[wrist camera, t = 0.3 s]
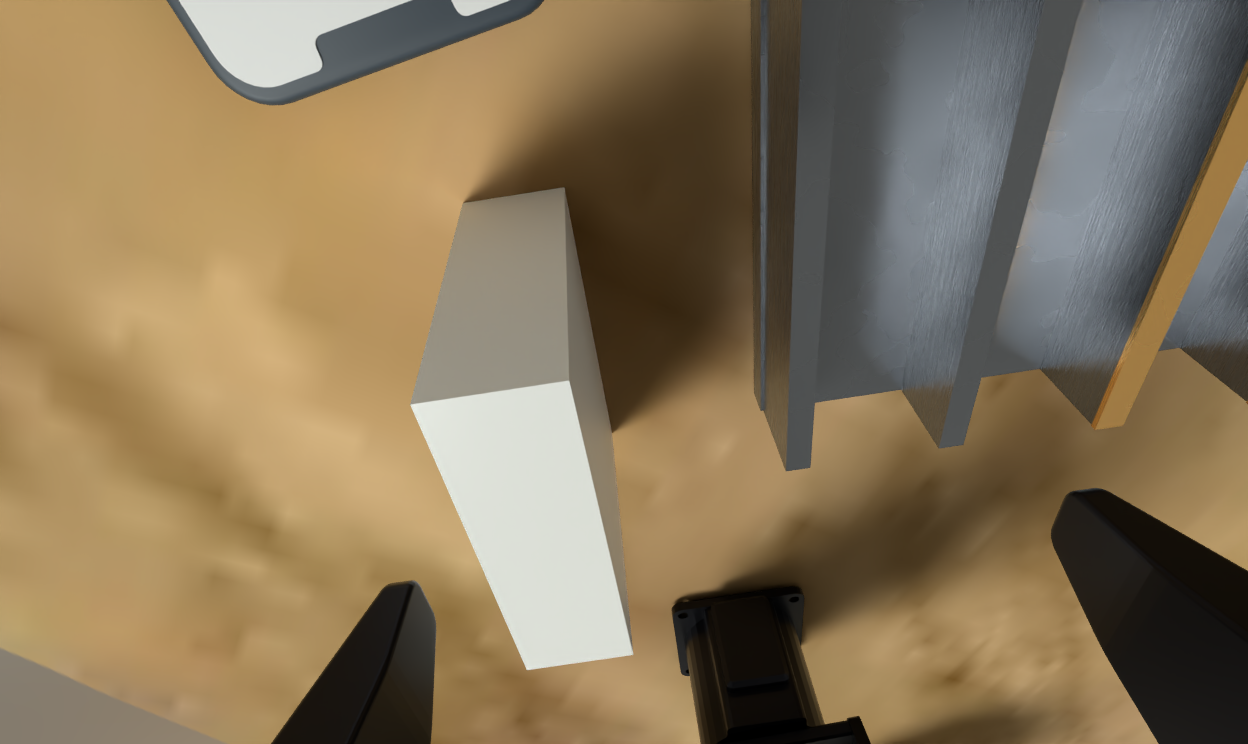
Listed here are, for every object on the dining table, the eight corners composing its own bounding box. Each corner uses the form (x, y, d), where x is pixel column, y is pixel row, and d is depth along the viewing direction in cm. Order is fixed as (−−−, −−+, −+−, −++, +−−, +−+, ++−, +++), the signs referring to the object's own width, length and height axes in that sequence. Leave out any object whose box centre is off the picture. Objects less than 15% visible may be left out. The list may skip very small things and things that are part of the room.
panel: (612, 432, 26) (633, 654, 19) (535, 444, 26) (527, 670, 19) (564, 186, 19) (569, 380, 12) (462, 202, 19) (409, 404, 12)
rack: (1184, 327, 25) (1280, 402, 21) (754, 392, 25) (784, 476, 22) (1415, -150, 16) (1638, -148, 13) (750, -42, 16) (800, -14, 13)
